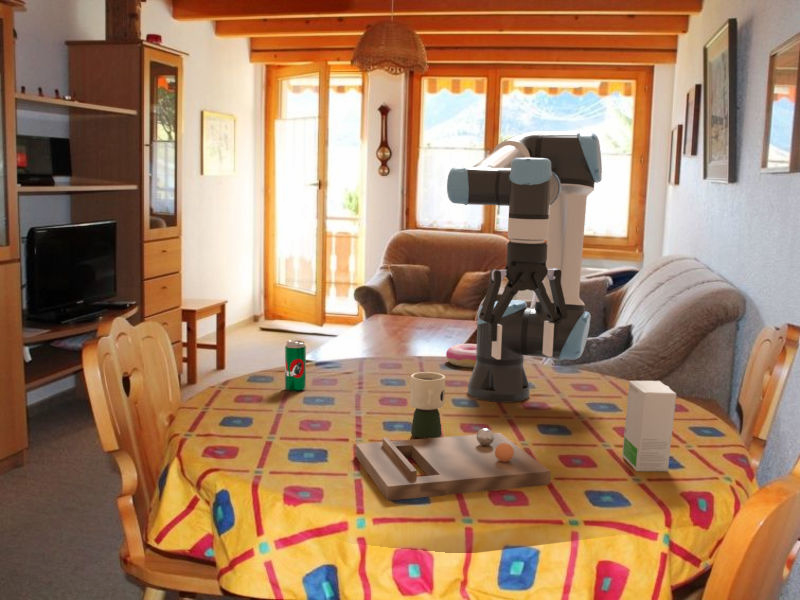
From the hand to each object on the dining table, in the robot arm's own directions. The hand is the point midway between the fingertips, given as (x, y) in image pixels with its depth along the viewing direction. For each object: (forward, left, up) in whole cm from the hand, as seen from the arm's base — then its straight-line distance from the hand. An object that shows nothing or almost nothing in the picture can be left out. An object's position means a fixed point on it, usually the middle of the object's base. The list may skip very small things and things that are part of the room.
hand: (521, 356), depth 161 cm
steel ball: (+7, 0, -16) cm, 17 cm away
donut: (-19, -73, -20) cm, 78 cm away
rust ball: (+7, +9, -16) cm, 19 cm away
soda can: (+34, -57, -20) cm, 69 cm away
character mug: (+14, -15, -20) cm, 28 cm away
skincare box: (-22, +10, -20) cm, 32 cm away
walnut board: (+16, +4, -20) cm, 26 cm away
